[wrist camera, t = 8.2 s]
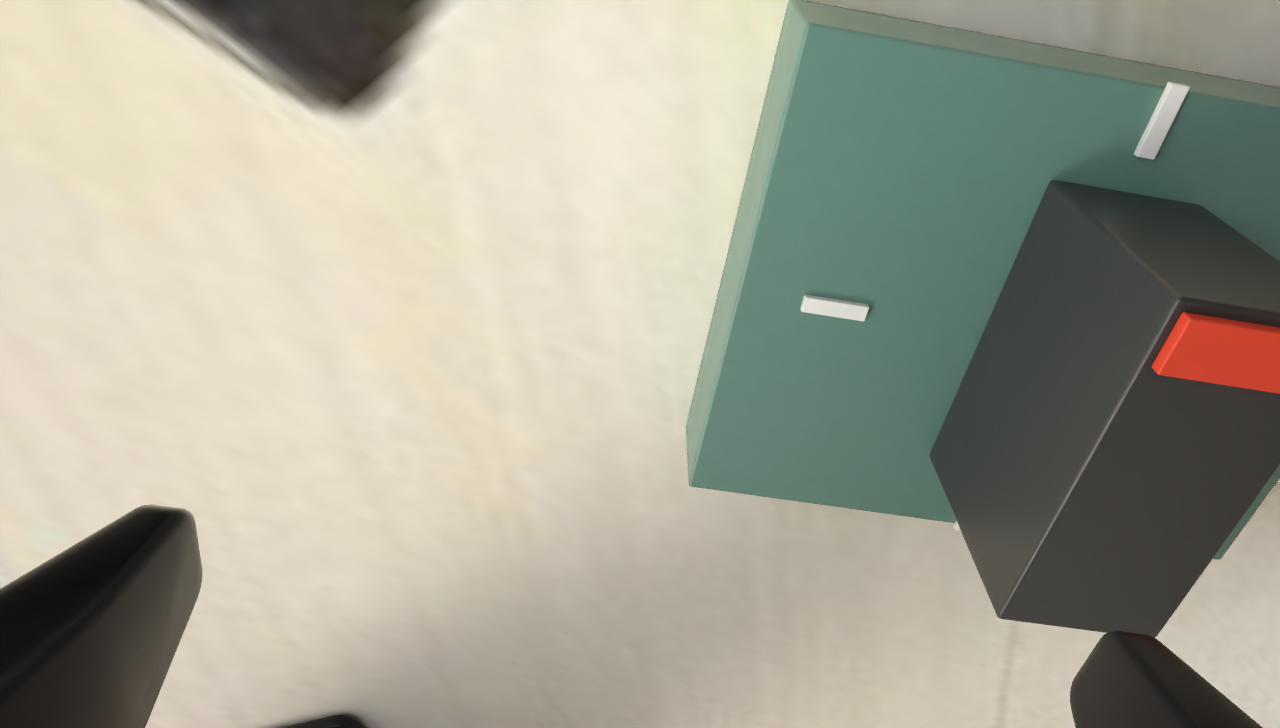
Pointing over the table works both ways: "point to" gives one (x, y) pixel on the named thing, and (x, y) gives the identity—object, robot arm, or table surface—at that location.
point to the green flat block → (927, 235)
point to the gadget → (1114, 410)
